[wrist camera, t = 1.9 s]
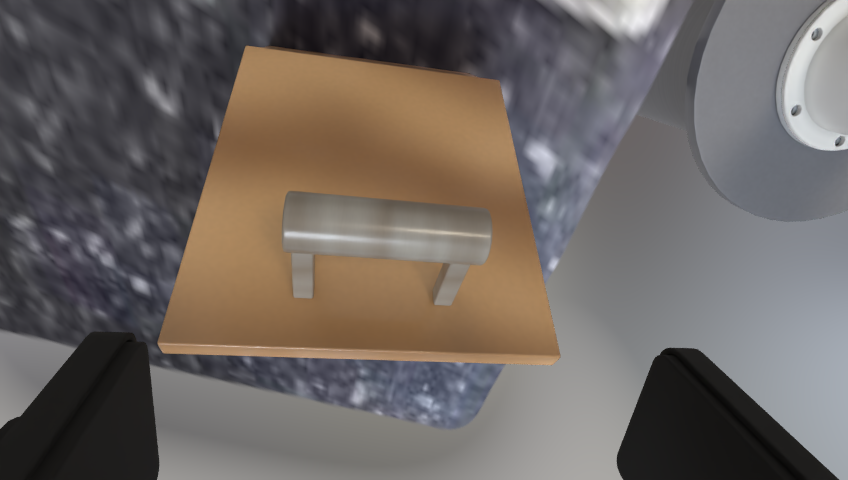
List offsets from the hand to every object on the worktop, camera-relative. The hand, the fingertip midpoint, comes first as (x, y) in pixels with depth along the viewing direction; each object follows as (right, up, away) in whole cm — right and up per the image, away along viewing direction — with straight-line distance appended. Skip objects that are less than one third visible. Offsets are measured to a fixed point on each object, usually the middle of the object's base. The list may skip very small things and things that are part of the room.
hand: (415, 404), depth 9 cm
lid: (-2, +5, +13) cm, 14 cm away
